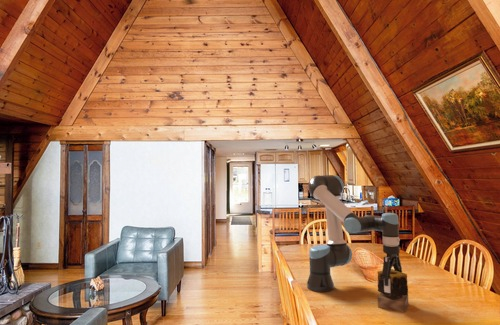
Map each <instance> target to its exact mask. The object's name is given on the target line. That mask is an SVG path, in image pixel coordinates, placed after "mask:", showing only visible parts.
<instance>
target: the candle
mask: <svg viewBox="0 0 500 325" xmlns="http://www.w3.org/2000/svg"><path fill="white" fill-rule="evenodd" d="M389 279H390V289H391V293H387V292H384V278H382V270H379V271H377V292H379V293H383V294H385V295H388V296H390V297H392V298H393V297H399V296H404V295H408V296H409V287H408V274H407V273H405V272H403V271H402V272H399V271H396V270H394V268H391V273H390V277H389Z"/></svg>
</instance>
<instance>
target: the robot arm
mask: <svg viewBox="0 0 500 325" xmlns="http://www.w3.org/2000/svg"><path fill="white" fill-rule="evenodd" d="M344 188H345V184H344V181H343V180H342V177H341V178H340V176H338V175H336V174H335V175H334V174H327V175H323V174H322V175H314V176H313V177H311V178H310V179H309V182H308V184H307V189H308V192H309V194H310V195H311V196H312V197H313V198H314V199H315V200H319V201H320V202H321V203H322V204H323V205H324V208H325V209H324V210H325V218H326V219H325V220H326V226H327V234H328V235H327V236H328V241H327V242H326V244H317V245H313V246H311V247H310V248H309V254H308V256H309V275H308V279H307V282H306V288H307V289H308V290H310V291H313V292H317V293H318V292H319V293H322V292H323V293H325V292H331V291H333V290H334V289H335V283H334V280H333V278H332V275H331V268H335V267H343V266H345V265H348V264H350V262H351V261H352V258H353V251H352V249H351V246H349V245H348V244H347V241H346V240H345V239H344V233H343V228H344V230H345V232H346V233H349V234H358V233H362V232H371V231H372V232H373V231H378V232H382V244H383V245H382V251H383V253H384V254H386V256H384V257H383V263H382V265H383V266H382V270H381V271H382V278H384V292H387V293H391V289H390V279H389V277H390V273H391V270H392V269H393V270H396V271H399V272H402V273H403V270H402V269H403V267H402V263H401V259H400V252H401V250H400V241H401V239H400V230H399V228H400V227H399V226H400V222H399V216H398V214H397V213H393V212H385V213H382V214H381V216H379V215H373V214H366V215H364V216H358V215H357V214H356V213H355V212H353V211H352V209H351V208H349V207H348V206H347V205H346V204H344V203H343V201H341V200H340V198H341V197H342V193H343V192H344ZM342 223H343V224H342ZM342 225H343V226H342Z"/></svg>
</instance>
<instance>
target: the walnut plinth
mask: <svg viewBox="0 0 500 325" xmlns="http://www.w3.org/2000/svg"><path fill="white" fill-rule="evenodd" d="M379 293H380V294H379V295H378V297H377V307H378V309H379V308H380V309H384V310H391V311H396V312H400V313H406V311H407V309H408V306H409V294H408V295H404V296H399V297H393V298H392V297H390V296H388V295H385V294H383V293H381V292H379Z"/></svg>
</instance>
